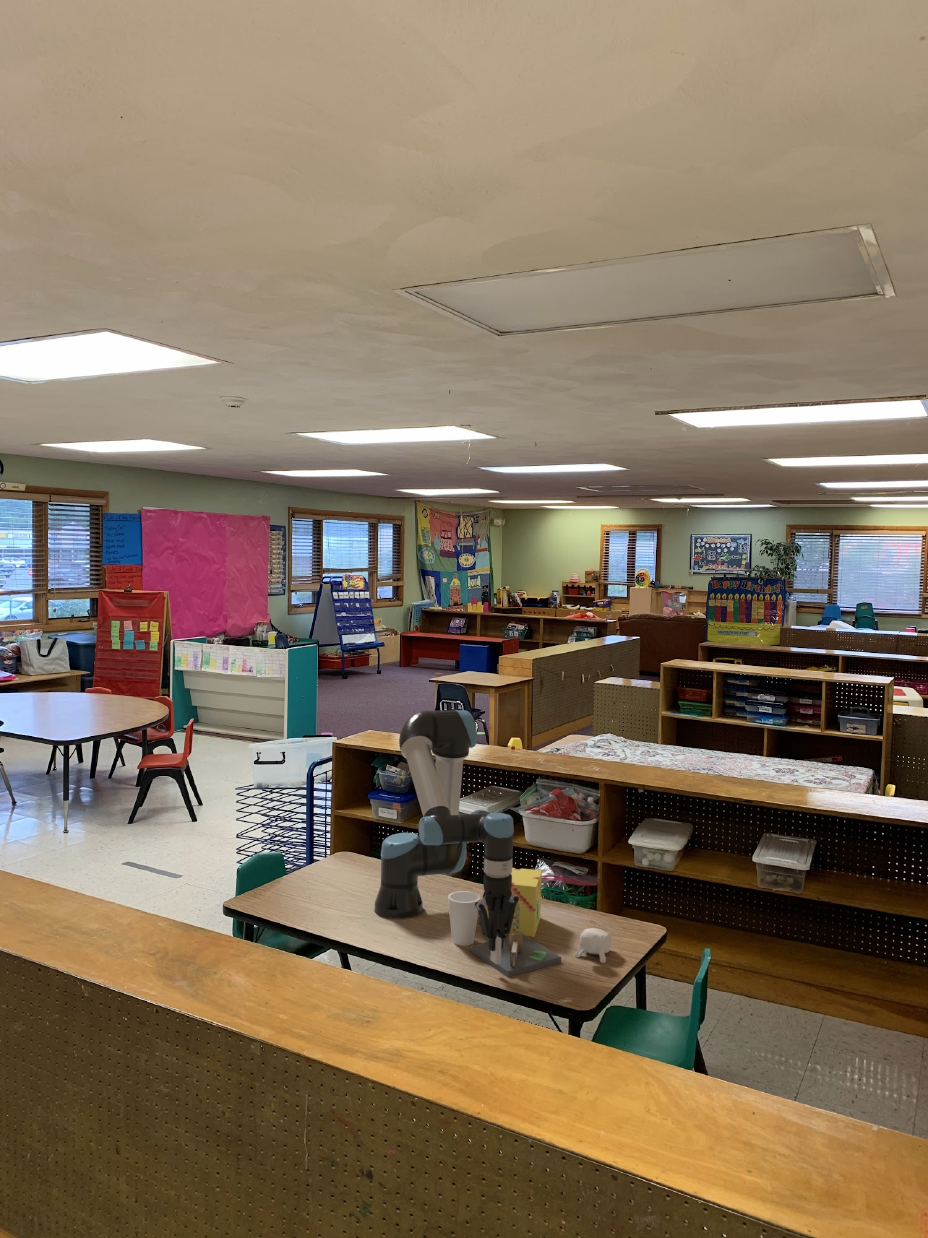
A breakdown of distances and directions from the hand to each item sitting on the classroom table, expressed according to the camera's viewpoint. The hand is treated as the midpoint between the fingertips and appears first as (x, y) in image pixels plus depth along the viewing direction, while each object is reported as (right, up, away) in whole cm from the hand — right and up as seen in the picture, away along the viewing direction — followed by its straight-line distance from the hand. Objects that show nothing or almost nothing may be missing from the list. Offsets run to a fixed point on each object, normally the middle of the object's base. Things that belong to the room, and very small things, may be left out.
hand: (495, 961), depth 228 cm
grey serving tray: (+6, -3, +11) cm, 13 cm away
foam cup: (-9, -3, +21) cm, 23 cm away
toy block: (+7, -3, +34) cm, 35 cm away
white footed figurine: (+28, -4, +13) cm, 31 cm away
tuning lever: (+5, -2, +7) cm, 9 cm away
